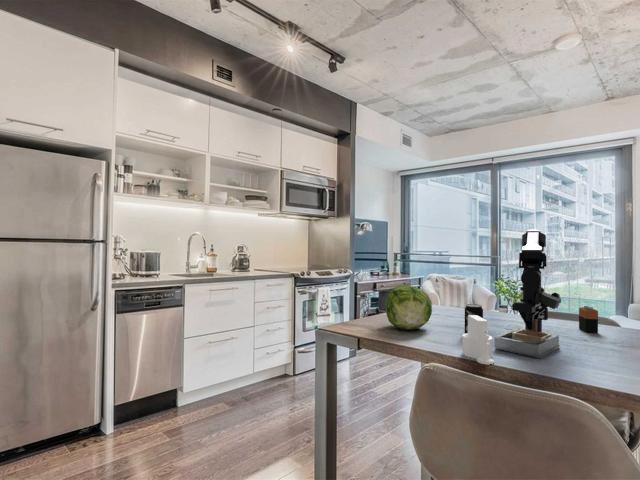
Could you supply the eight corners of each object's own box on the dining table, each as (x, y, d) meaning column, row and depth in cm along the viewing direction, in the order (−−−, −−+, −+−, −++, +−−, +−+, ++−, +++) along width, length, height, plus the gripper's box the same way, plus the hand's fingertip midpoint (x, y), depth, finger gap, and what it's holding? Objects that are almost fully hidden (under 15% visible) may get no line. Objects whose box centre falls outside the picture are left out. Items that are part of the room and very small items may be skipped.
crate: (521, 338, 138) (521, 315, 138) (551, 343, 130) (551, 319, 130) (512, 342, 132) (512, 318, 132) (543, 348, 125) (543, 322, 125)
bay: (516, 339, 140) (516, 327, 140) (559, 347, 129) (559, 335, 129) (493, 349, 127) (493, 336, 127) (539, 359, 117) (539, 345, 117)
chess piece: (473, 359, 117) (473, 327, 117) (489, 359, 117) (489, 327, 117) (481, 364, 112) (482, 331, 112) (497, 364, 112) (497, 331, 112)
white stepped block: (458, 350, 126) (458, 315, 126) (485, 351, 126) (485, 315, 126) (468, 359, 117) (468, 320, 117) (497, 359, 117) (497, 321, 117)
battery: (586, 332, 150) (586, 307, 150) (578, 329, 157) (578, 305, 157) (598, 333, 149) (598, 308, 149) (590, 329, 156) (590, 305, 156)
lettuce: (386, 336, 146) (394, 292, 144) (380, 316, 169) (387, 277, 167) (436, 344, 146) (444, 299, 143) (423, 322, 169) (430, 284, 166)
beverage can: (484, 338, 141) (484, 306, 141) (466, 337, 142) (466, 306, 142) (480, 334, 147) (481, 304, 147) (463, 333, 149) (463, 303, 149)
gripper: (548, 289, 119) (548, 338, 119) (566, 284, 131) (566, 329, 131) (511, 285, 127) (511, 331, 127) (532, 281, 140) (532, 323, 140)
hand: (531, 329), depth 131 cm, fingers open, 3 cm apart
